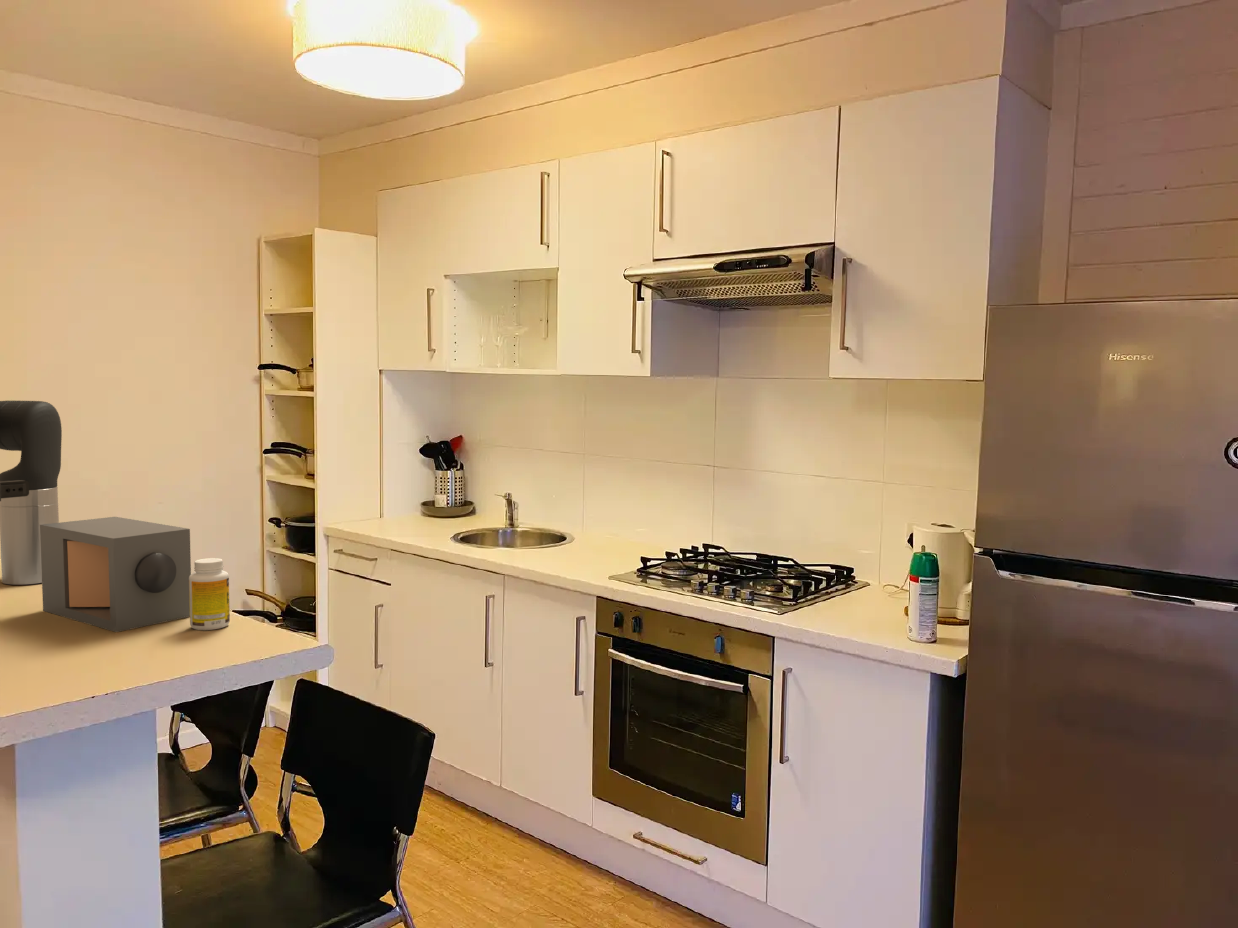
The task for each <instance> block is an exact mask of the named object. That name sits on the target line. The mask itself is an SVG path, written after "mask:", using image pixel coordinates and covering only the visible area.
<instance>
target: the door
mask: <svg viewBox="0 0 1238 928" xmlns="http://www.w3.org/2000/svg"><path fill="white" fill-rule="evenodd" d="M67 548H68V577H69V605H70V607H110V590H109V558H108V547H103V546H98V545H93V544H88V543H83V542H78V541H73V540H69V541H67Z"/></svg>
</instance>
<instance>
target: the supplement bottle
mask: <svg viewBox="0 0 1238 928" xmlns="http://www.w3.org/2000/svg"><path fill="white" fill-rule="evenodd" d="M193 564H194V567H193V568H194V572H193V573H192V572H191V575H190V576H189V605H190V617H189V625H190V627H191V628H192V629H193V630H197V631H213V630H219V629H223V628H225V627H227V626H228V625H229V624H230V616H231V615H230V613H231V612H230V609H231V608H230V575H229V573H228V571H225V570H224V560H223V559H222V558H217V557H208V558H201V559H196V560H195V561H194V563H193Z"/></svg>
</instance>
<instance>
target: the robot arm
mask: <svg viewBox="0 0 1238 928" xmlns="http://www.w3.org/2000/svg"><path fill="white" fill-rule="evenodd" d="M62 428H63V427H62V421H61V417H60V414H59V412H58V410H57V409H56V407H55V406H54V405H53V404H52V403H49V402H47V401H43V400H0V450H3V451H9V452H10V451H12V452H13V451H15V452H18V451H19V452H20V459H19V462H18V463H17V465H16V466H14V467H12V468H10V469H7V470H5V471H2V472H0V564H1V565H0V566H1V583H3V584H5V585H14V586H15V585H34V584H42V568H41V541H40V525H42V524H51V523H60V520H59V519H60V518H59V497H58V495H59V494H58V493H59V491H58V478H59V475H60V472H61V469H62V438H63V437H62V435H63V434H62Z"/></svg>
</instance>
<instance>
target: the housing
mask: <svg viewBox="0 0 1238 928" xmlns="http://www.w3.org/2000/svg"><path fill="white" fill-rule="evenodd" d="M69 540H73V541H78V542H83V543H88V544H93V545H98V546H103V547H108V558H109V590H110V607H70V605H69V577H68V548H67V541H69ZM40 541H41V568H42V583H41V586H42V587H41V589H42V591H41V592H42V593H41V594H42V611H43V612H45V613H50V614H54V615H56V616H59V617H64V618H67V619H69V620H70V619H71V620H73V621H77V622H81V623H83V624H87V625H90V626H95V627H97V628H101V629H103V630H108V631H111V632H115V633H119V632H122V631H127V630H133V629H138V628H141V627H147V626H151V625H157V624H161V623H165V622H170V621H175V620H180V619H186V618H190V605H189V576H190V575H191V574H192V569H191V568H192V565H191V564H192V562H191V559H192V558H191V557H192V556H191V528H187V527H181V526H175V525H170V524H169V525H168V524H162V523H157V522H149V521H146V520H145V521H144V520H139V519H134V518H133V519H131V518H126V517H120V516H109V517H108V516H107V517H99V518H90V519H82V520H81V519H80V520H72V521H71V520H70V521H61V522H59V523H51V524H42V525H40Z"/></svg>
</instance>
